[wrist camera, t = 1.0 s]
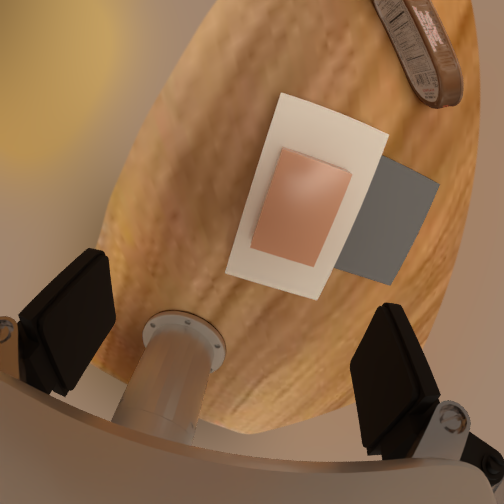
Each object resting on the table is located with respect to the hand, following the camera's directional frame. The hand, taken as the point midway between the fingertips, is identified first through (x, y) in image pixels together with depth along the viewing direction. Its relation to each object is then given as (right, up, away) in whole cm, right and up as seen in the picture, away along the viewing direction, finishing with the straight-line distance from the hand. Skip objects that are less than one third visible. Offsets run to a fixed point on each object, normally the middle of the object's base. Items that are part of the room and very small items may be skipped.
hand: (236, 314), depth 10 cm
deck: (+6, +8, +21) cm, 23 cm away
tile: (+5, +6, +16) cm, 18 cm away
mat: (+15, +5, +21) cm, 27 cm away
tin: (+16, +24, +13) cm, 31 cm away
